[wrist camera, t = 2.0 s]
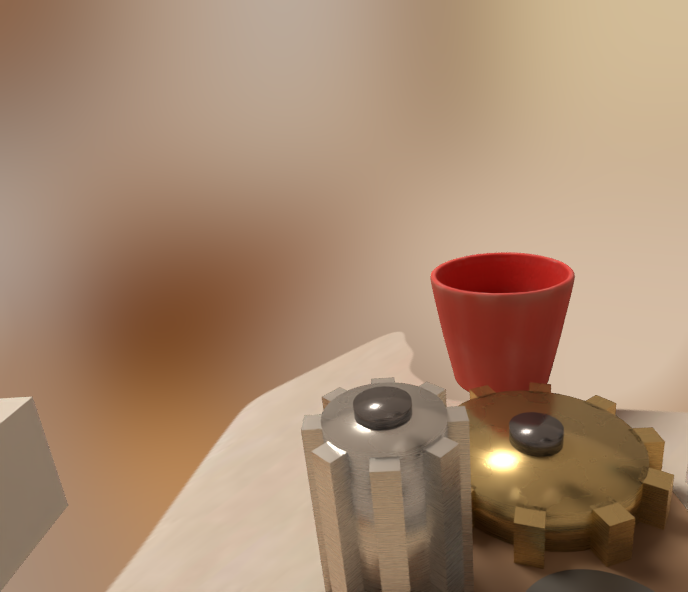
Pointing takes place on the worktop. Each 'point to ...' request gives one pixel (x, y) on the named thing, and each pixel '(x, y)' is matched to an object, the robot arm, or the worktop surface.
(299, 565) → the worktop surface
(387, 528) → the grey pinion
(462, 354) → the flower pot
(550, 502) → the brass gear
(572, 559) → the gear board
